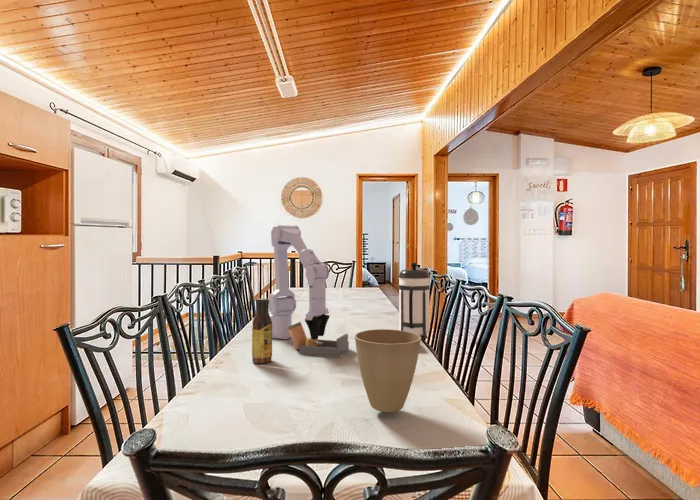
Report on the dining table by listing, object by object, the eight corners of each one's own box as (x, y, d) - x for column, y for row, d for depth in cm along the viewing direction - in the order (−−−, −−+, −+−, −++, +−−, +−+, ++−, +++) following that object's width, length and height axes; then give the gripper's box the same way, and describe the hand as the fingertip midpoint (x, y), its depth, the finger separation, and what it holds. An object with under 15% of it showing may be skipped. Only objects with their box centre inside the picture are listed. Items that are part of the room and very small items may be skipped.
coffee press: (386, 334, 161) (386, 262, 161) (418, 331, 167) (418, 261, 167) (410, 344, 145) (410, 263, 145) (444, 339, 152) (444, 263, 152)
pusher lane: (299, 354, 132) (299, 336, 132) (312, 346, 142) (312, 330, 142) (337, 357, 127) (337, 340, 127) (348, 349, 137) (348, 333, 137)
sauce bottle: (267, 365, 119) (267, 300, 119) (248, 364, 121) (248, 300, 121) (275, 359, 126) (275, 297, 126) (257, 358, 127) (257, 297, 127)
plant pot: (382, 426, 78) (381, 347, 78) (342, 402, 90) (342, 333, 90) (435, 409, 86) (435, 337, 86) (392, 389, 98) (392, 326, 98)
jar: (293, 351, 136) (284, 328, 137) (299, 347, 140) (291, 325, 141) (305, 346, 134) (296, 323, 135) (311, 343, 139) (302, 320, 140)
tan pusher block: (305, 350, 132) (305, 340, 132) (315, 344, 140) (315, 334, 140) (317, 351, 131) (317, 341, 131) (326, 345, 139) (326, 335, 139)
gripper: (319, 301, 127) (319, 342, 127) (335, 296, 141) (335, 333, 141) (300, 300, 129) (300, 341, 129) (317, 295, 143) (318, 332, 143)
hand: (317, 337), depth 135 cm, fingers open, 5 cm apart
